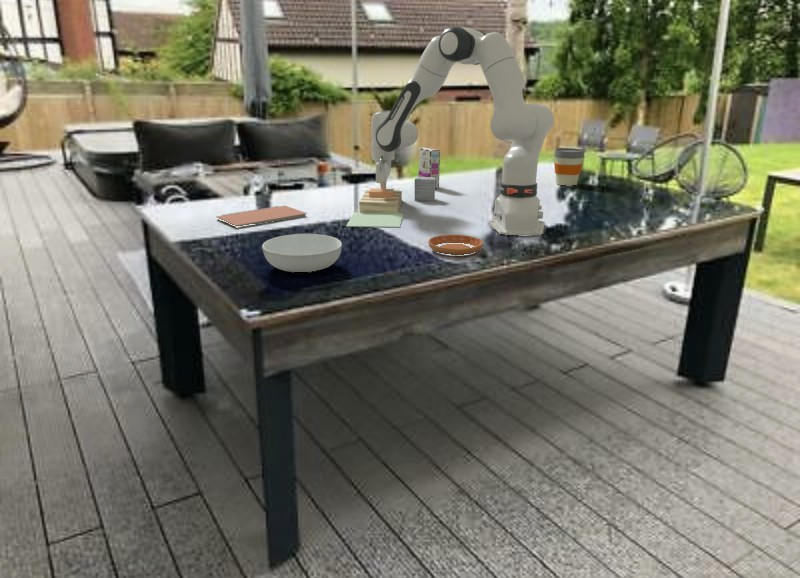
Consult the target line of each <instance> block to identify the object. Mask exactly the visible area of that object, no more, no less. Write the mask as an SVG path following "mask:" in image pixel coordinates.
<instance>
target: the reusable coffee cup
mask: <svg viewBox="0 0 800 578" xmlns="http://www.w3.org/2000/svg"><path fill="white" fill-rule="evenodd" d="M584 157H585V151H584V149H581V148H572V147H571V148H569V147H568V148H567V147H565V148H561V147H560V148H556V149H555V150H554V161H555V162H553V163H554V164H553V165H554V174H555V183H556V185H557V184H559V185H558V186H560V185H566V186H565V187H573V186H572V185H576V186H577V185H578V181H579V177H580V174H581V172H582V168H583V159H584Z"/></svg>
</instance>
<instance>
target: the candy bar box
mask: <svg viewBox="0 0 800 578" xmlns="http://www.w3.org/2000/svg"><path fill="white" fill-rule="evenodd" d="M440 159H441V149H437V148H432V147H418V177H434V178H435V188H437V189H440V165H441V160H440Z"/></svg>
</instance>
